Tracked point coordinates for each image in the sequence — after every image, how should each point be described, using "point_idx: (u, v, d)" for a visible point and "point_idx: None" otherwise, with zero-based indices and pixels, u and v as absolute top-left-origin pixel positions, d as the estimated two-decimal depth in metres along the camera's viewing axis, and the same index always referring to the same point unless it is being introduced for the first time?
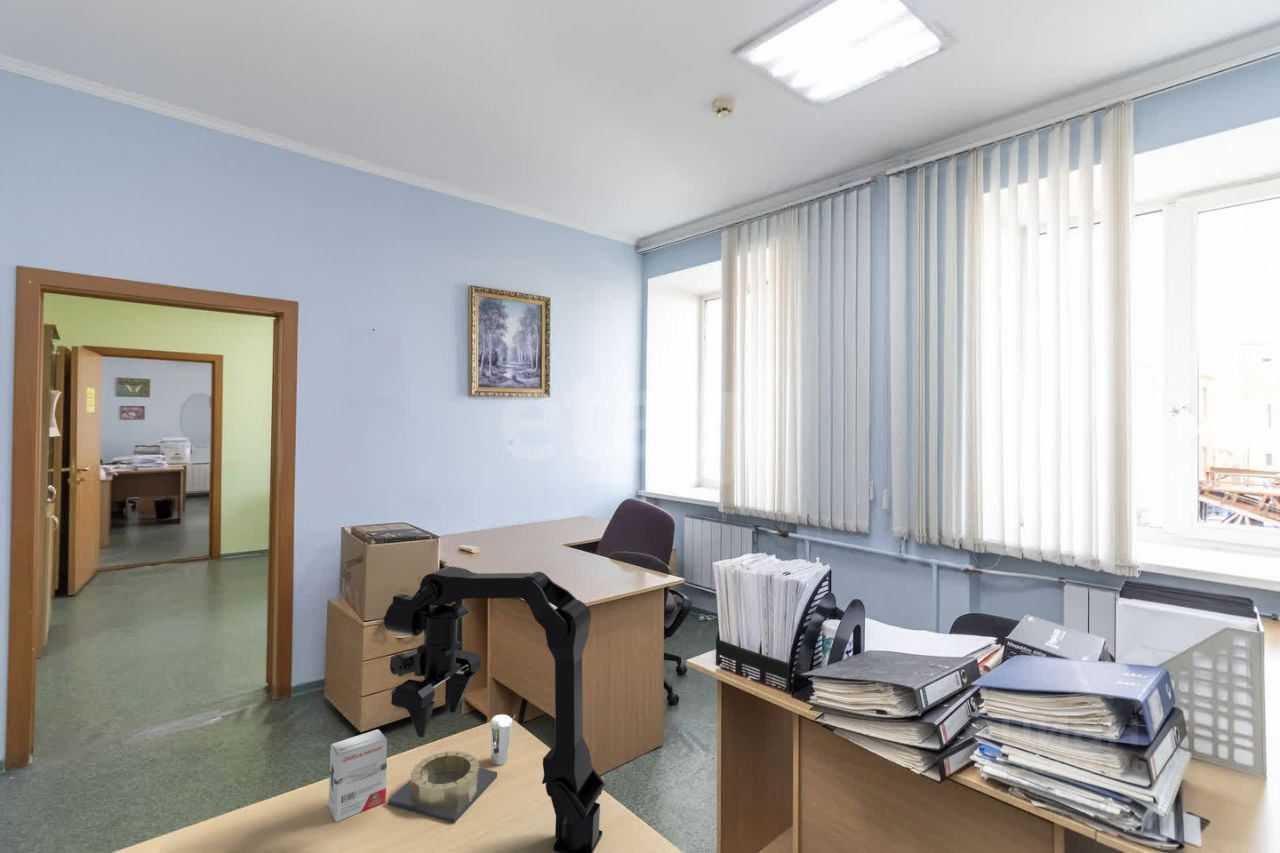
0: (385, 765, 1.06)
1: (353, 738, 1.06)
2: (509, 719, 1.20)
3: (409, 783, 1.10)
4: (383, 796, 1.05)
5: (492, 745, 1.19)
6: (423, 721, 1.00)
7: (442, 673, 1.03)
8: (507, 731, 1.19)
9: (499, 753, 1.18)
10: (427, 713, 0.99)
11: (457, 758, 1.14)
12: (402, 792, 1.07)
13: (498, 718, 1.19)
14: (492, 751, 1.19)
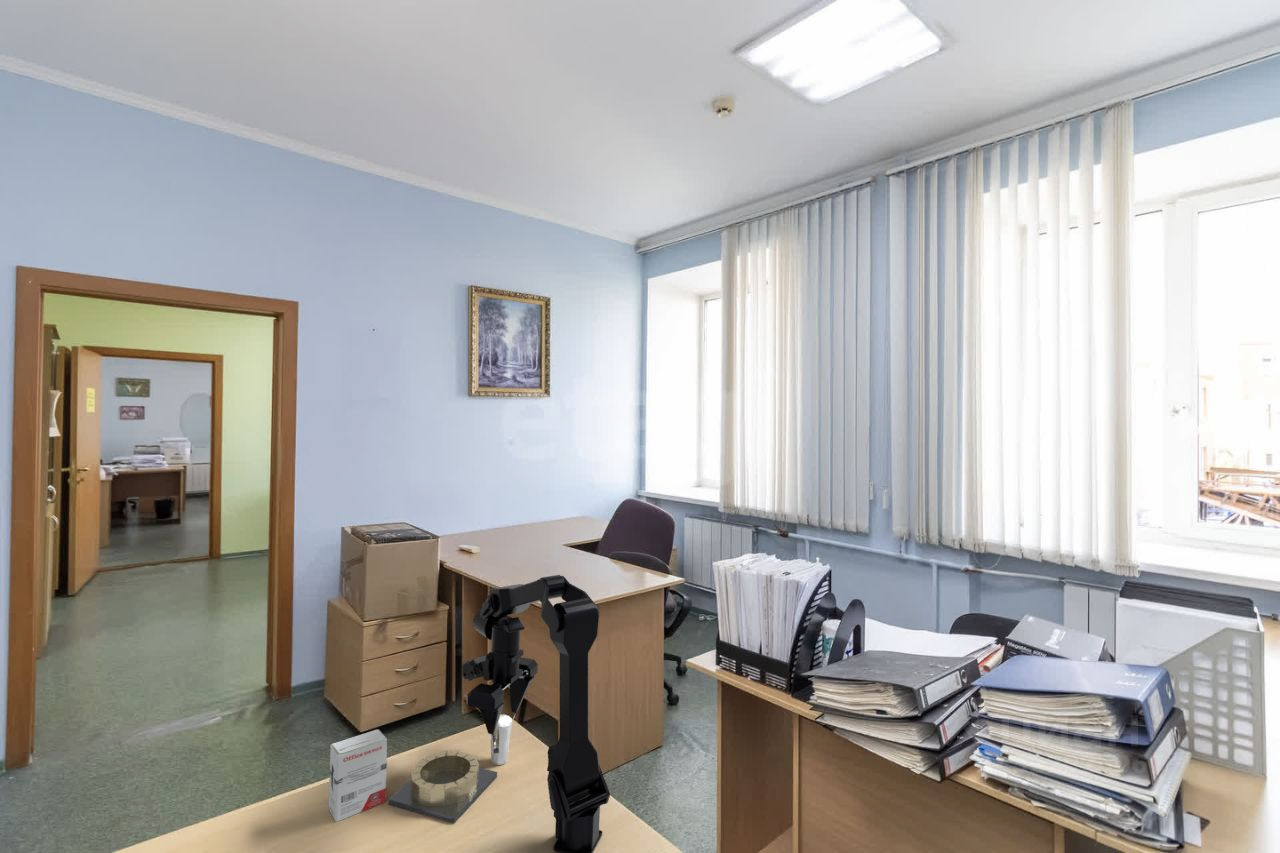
0: (385, 765, 1.06)
1: (353, 738, 1.06)
2: (509, 719, 1.20)
3: (409, 783, 1.10)
4: (383, 796, 1.05)
5: (492, 745, 1.19)
6: (494, 720, 1.14)
7: (508, 678, 1.17)
8: (507, 731, 1.19)
9: (499, 753, 1.18)
10: (498, 713, 1.13)
11: (457, 758, 1.14)
12: (402, 792, 1.07)
13: None
14: (492, 751, 1.19)
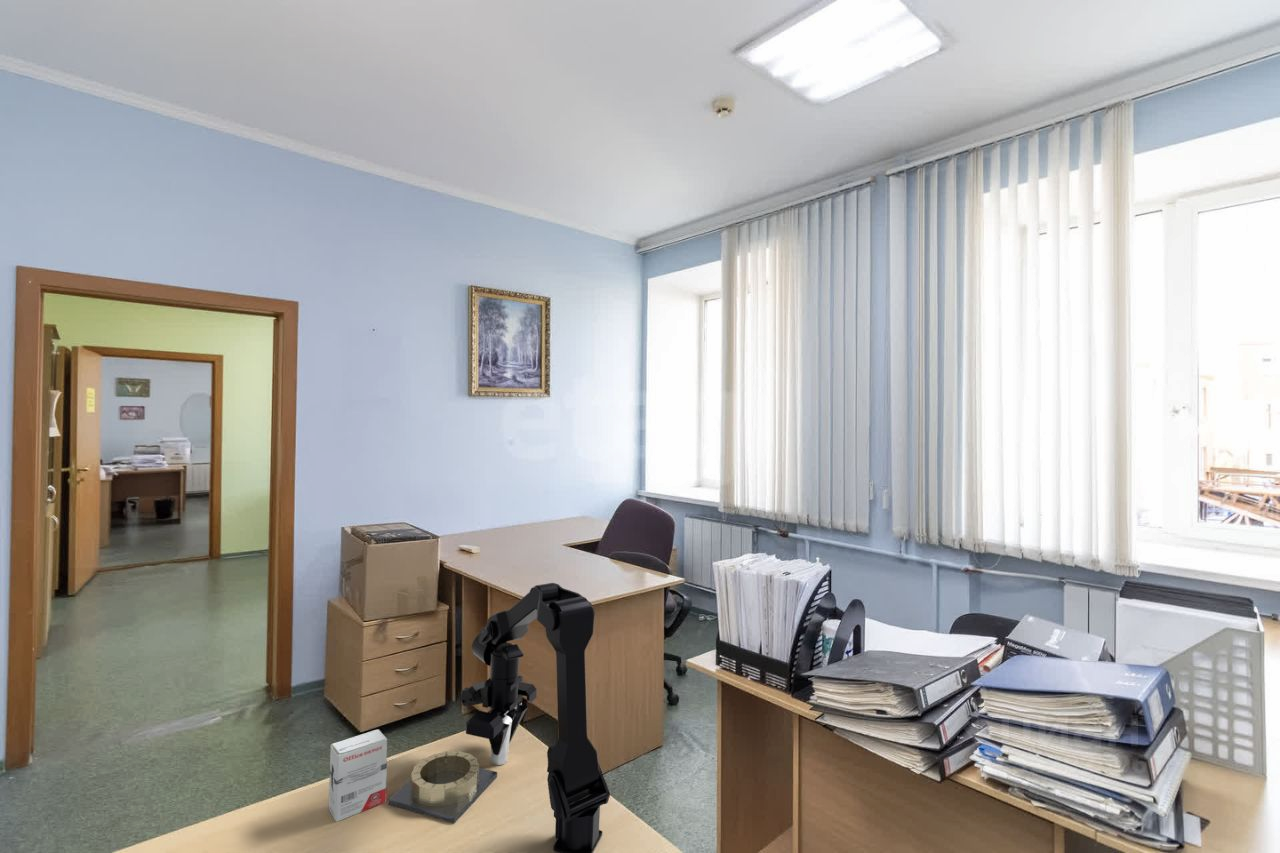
0: (385, 765, 1.06)
1: (353, 738, 1.06)
2: (509, 719, 1.20)
3: (409, 783, 1.10)
4: (383, 796, 1.05)
5: None
6: (499, 741, 1.16)
7: (507, 705, 1.17)
8: (507, 731, 1.19)
9: None
10: (503, 734, 1.15)
11: (457, 758, 1.14)
12: (402, 792, 1.07)
13: None
14: (492, 751, 1.19)
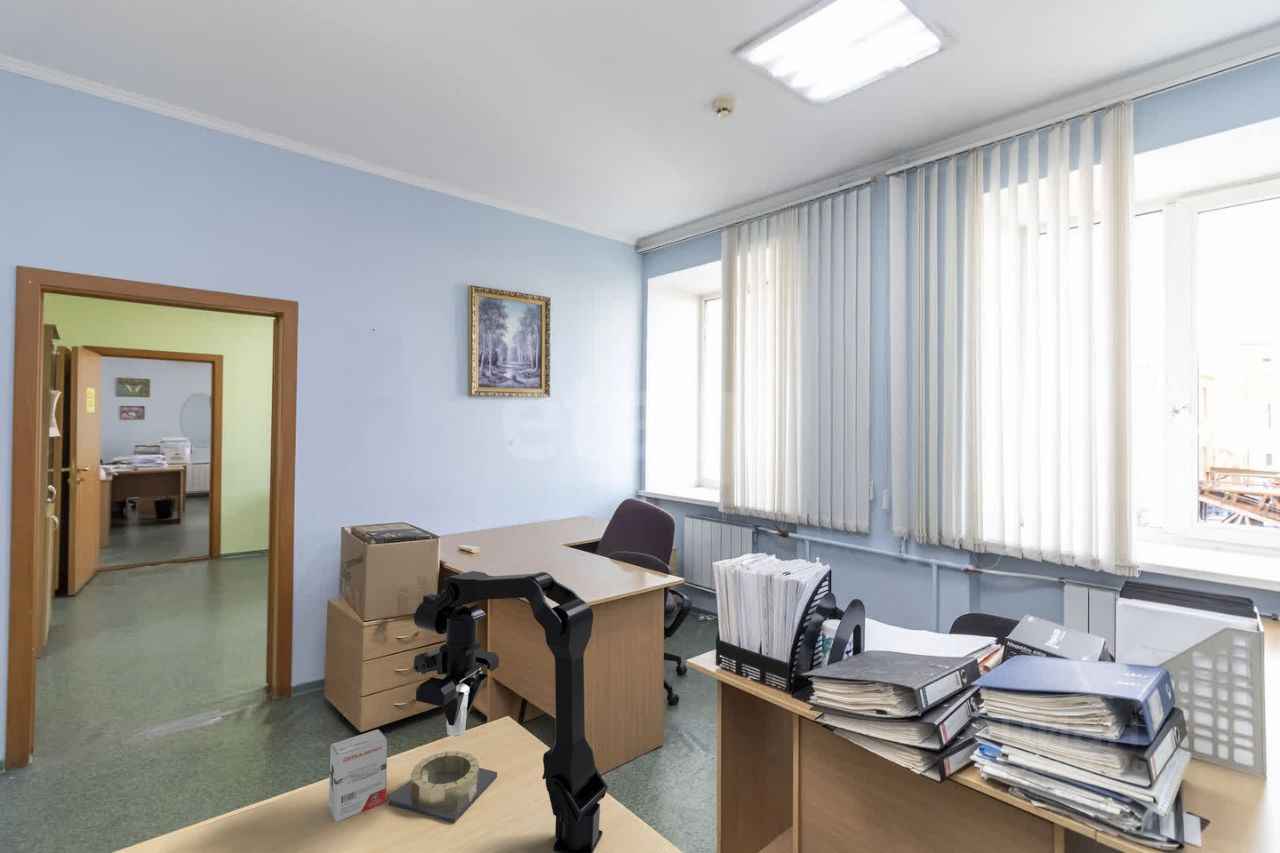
0: (385, 765, 1.06)
1: (353, 738, 1.06)
2: (466, 687, 1.12)
3: (409, 783, 1.10)
4: (383, 796, 1.05)
5: None
6: (454, 710, 1.08)
7: (463, 671, 1.09)
8: (463, 700, 1.10)
9: (455, 723, 1.10)
10: (457, 703, 1.07)
11: (457, 758, 1.14)
12: (402, 792, 1.07)
13: None
14: None
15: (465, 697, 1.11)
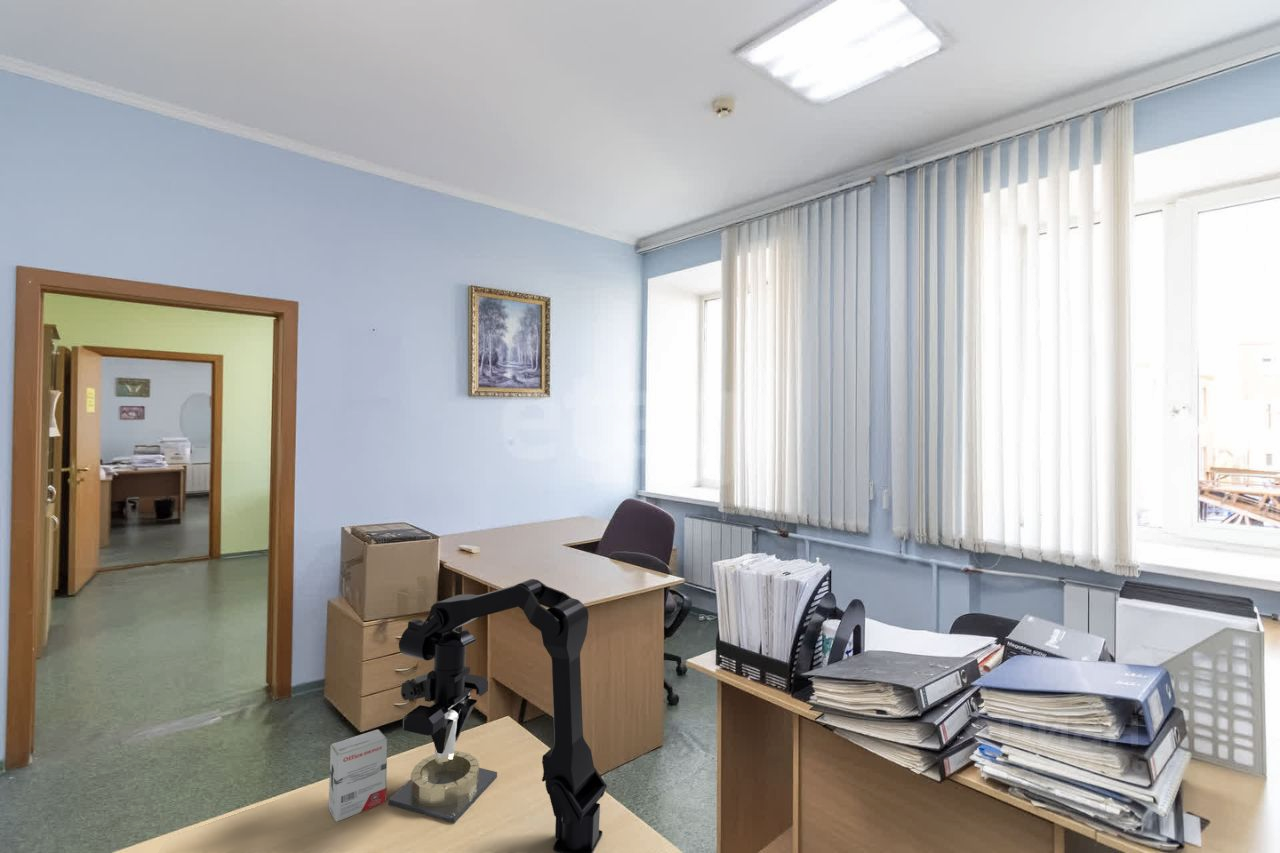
0: (385, 765, 1.06)
1: (353, 738, 1.06)
2: (455, 714, 1.10)
3: (409, 783, 1.10)
4: (383, 796, 1.05)
5: None
6: (442, 738, 1.06)
7: (451, 698, 1.07)
8: (452, 727, 1.09)
9: None
10: (446, 731, 1.05)
11: (457, 758, 1.14)
12: (402, 792, 1.07)
13: None
14: None
15: (454, 724, 1.09)
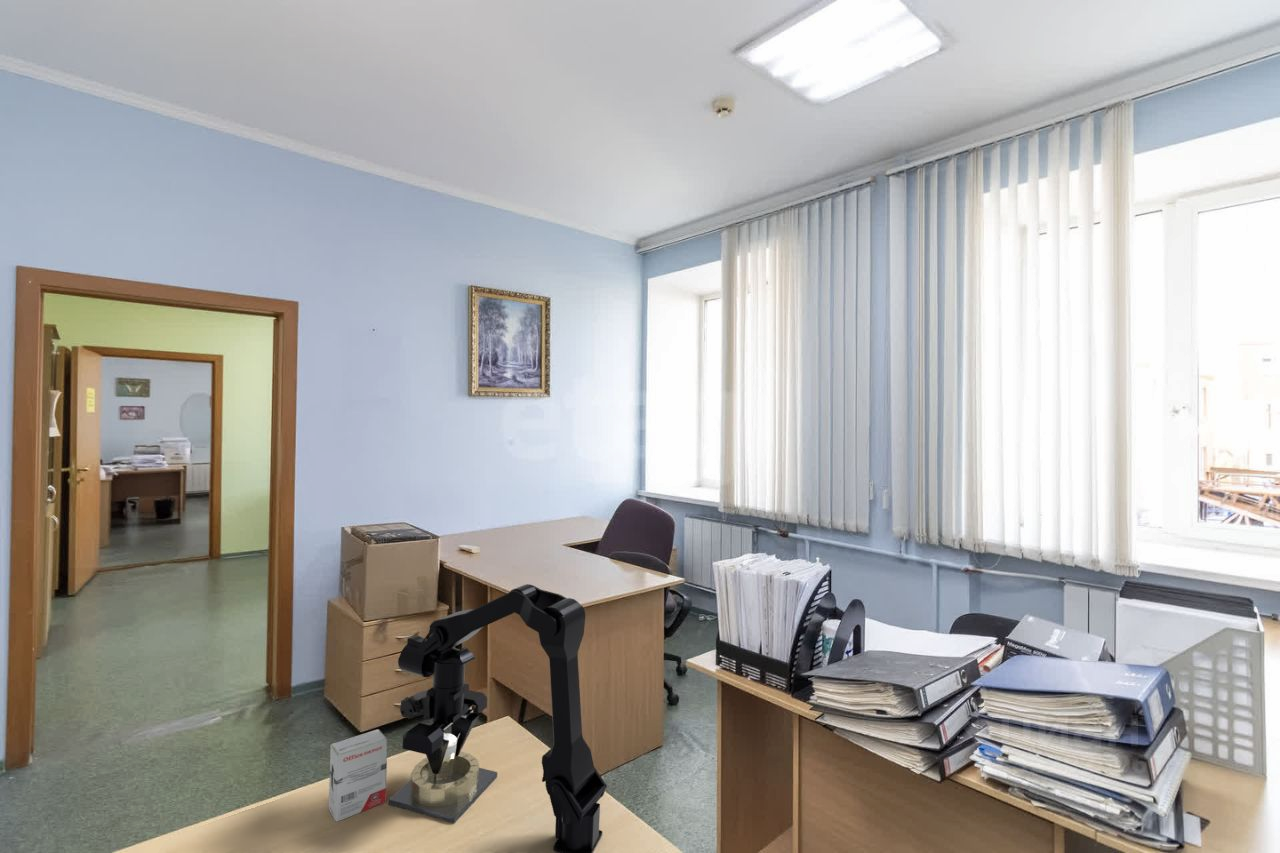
0: (385, 765, 1.06)
1: (353, 738, 1.06)
2: (454, 738, 1.10)
3: (409, 783, 1.10)
4: (383, 796, 1.05)
5: None
6: (438, 759, 1.05)
7: (451, 716, 1.07)
8: (451, 751, 1.09)
9: (442, 776, 1.08)
10: (442, 752, 1.04)
11: (457, 758, 1.14)
12: (402, 792, 1.07)
13: None
14: None
15: (452, 748, 1.09)
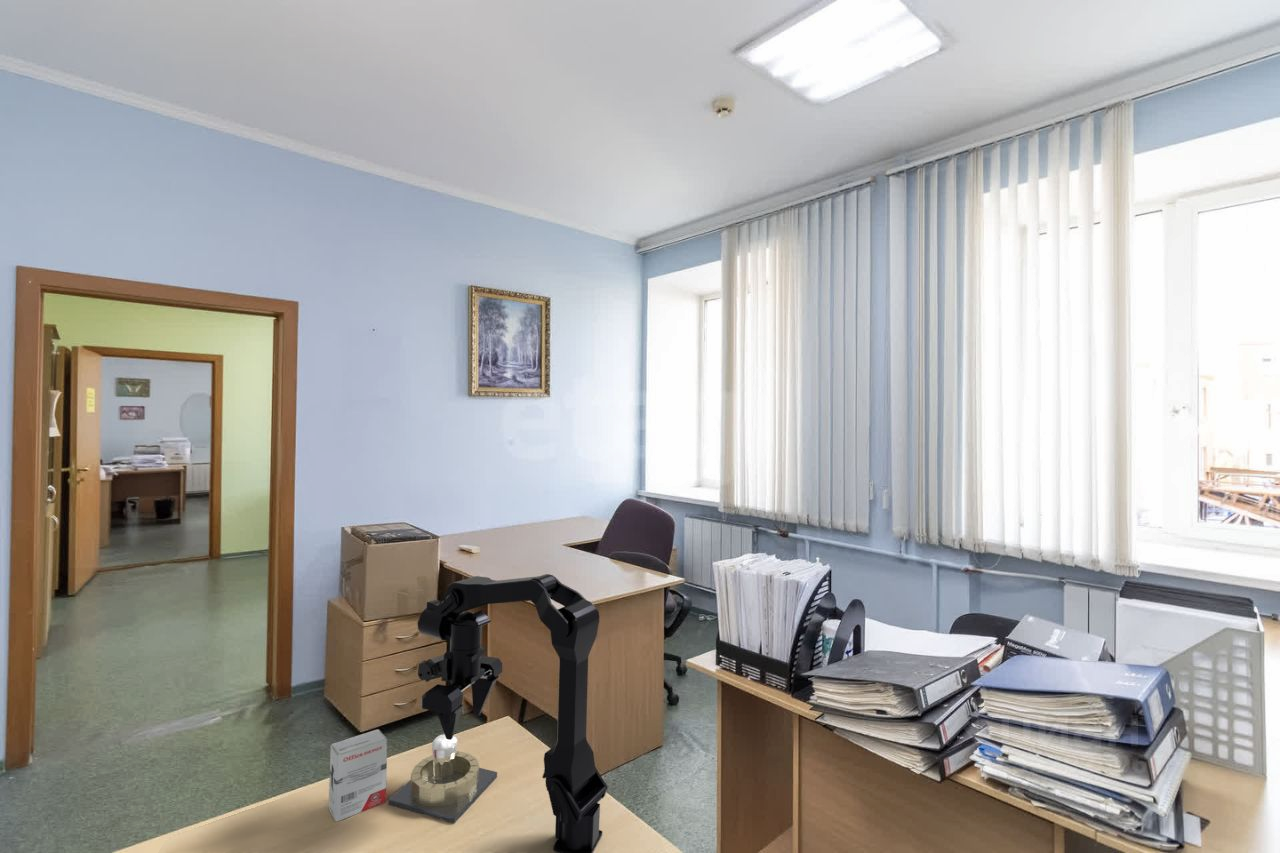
0: (385, 765, 1.06)
1: (353, 738, 1.06)
2: (454, 739, 1.10)
3: (409, 783, 1.10)
4: (383, 796, 1.05)
5: (434, 768, 1.08)
6: (452, 724, 1.05)
7: (468, 678, 1.08)
8: (451, 753, 1.08)
9: (442, 777, 1.08)
10: (456, 716, 1.04)
11: (457, 758, 1.14)
12: (402, 792, 1.07)
13: (441, 738, 1.09)
14: (435, 774, 1.08)
15: (452, 750, 1.09)
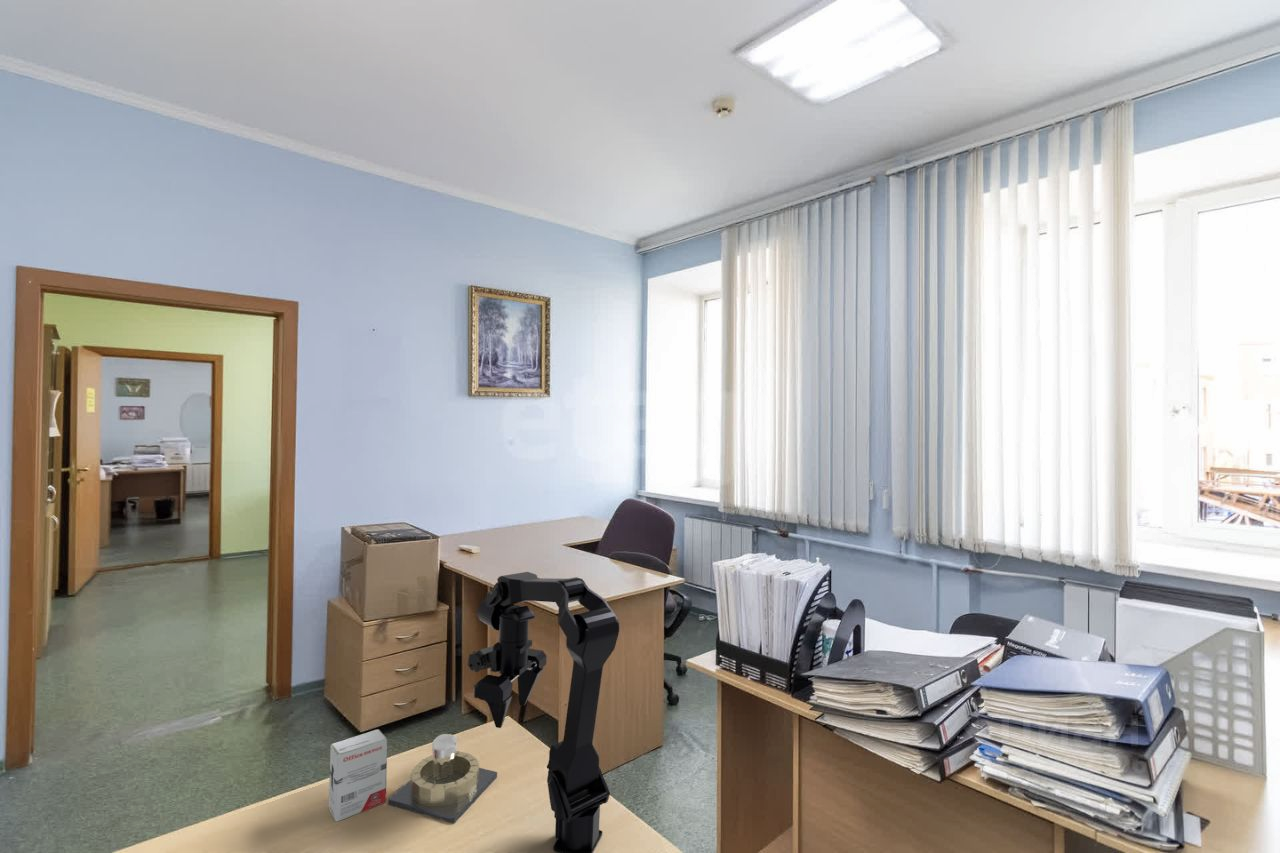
0: (385, 765, 1.06)
1: (353, 738, 1.06)
2: (454, 739, 1.10)
3: (409, 783, 1.10)
4: (383, 796, 1.05)
5: (434, 768, 1.08)
6: (502, 713, 1.09)
7: (517, 669, 1.12)
8: (451, 753, 1.08)
9: (442, 777, 1.08)
10: (506, 705, 1.08)
11: (457, 758, 1.14)
12: (402, 792, 1.07)
13: (441, 738, 1.09)
14: (435, 774, 1.08)
15: (452, 750, 1.09)
